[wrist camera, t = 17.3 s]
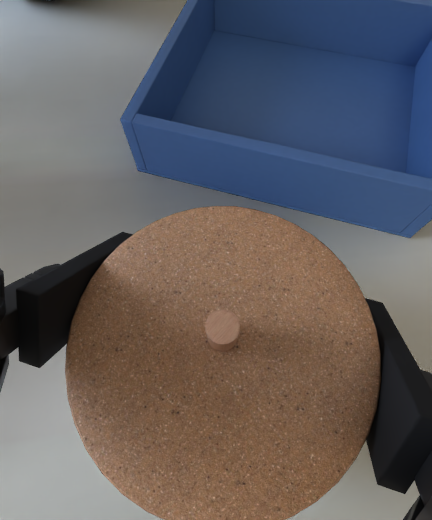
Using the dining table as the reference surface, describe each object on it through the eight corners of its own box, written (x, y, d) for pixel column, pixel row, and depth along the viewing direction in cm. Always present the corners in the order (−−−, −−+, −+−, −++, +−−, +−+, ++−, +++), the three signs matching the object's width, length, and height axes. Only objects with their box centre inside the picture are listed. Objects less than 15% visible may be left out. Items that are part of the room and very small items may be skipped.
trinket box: (85, 369, 18) (-38, 340, 9) (214, 241, 21) (211, 131, 12) (230, 531, 15) (245, 706, 6) (355, 354, 18) (478, 313, 10)
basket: (137, 170, 24) (119, 119, 19) (208, 27, 30) (207, -36, 26) (410, 238, 21) (459, 196, 17) (423, 66, 28) (461, 4, 24)
